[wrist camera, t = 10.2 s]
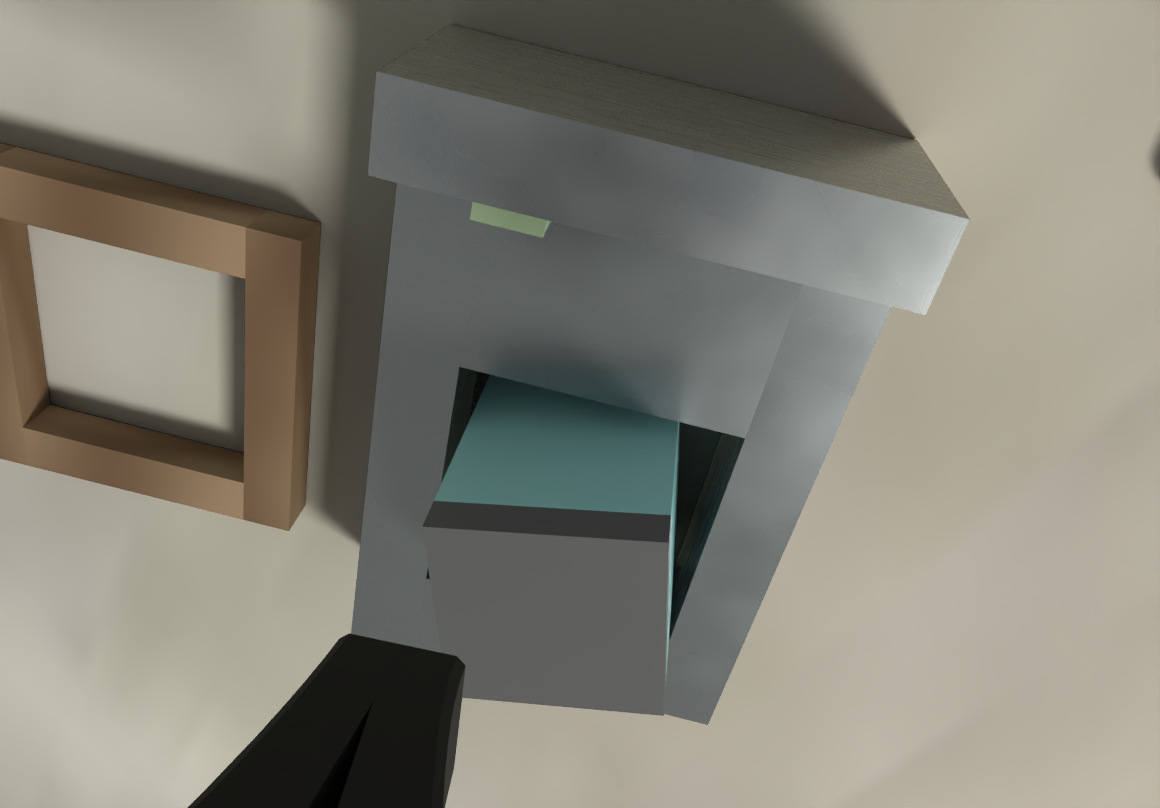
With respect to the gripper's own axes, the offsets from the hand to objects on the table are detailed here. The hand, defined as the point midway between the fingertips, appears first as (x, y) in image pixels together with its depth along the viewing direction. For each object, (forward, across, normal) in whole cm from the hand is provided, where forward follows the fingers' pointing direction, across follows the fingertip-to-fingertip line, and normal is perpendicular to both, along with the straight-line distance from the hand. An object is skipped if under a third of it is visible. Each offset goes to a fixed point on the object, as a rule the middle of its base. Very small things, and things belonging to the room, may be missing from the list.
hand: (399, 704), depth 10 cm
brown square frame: (+10, +9, +2) cm, 13 cm away
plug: (+10, -1, +3) cm, 11 cm away
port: (+10, -1, +1) cm, 10 cm away
